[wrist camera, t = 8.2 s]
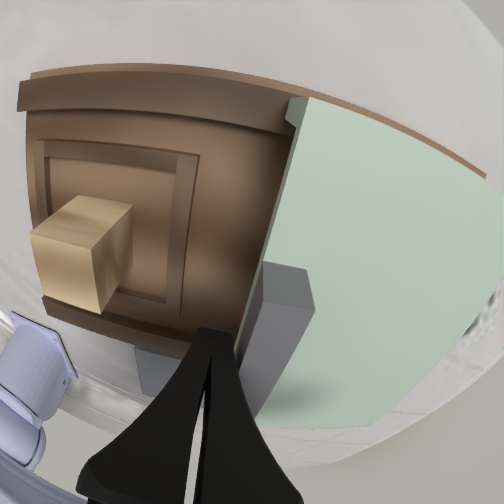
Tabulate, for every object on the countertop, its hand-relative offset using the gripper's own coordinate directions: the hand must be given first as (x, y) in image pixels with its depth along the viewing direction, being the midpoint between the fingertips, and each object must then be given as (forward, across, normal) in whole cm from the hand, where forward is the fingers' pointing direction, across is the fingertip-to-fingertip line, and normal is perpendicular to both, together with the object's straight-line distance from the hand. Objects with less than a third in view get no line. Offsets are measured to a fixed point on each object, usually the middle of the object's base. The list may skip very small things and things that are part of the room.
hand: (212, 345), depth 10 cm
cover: (+5, -7, 0) cm, 9 cm away
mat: (+7, +2, +16) cm, 18 cm away
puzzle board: (+7, 0, 0) cm, 7 cm away
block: (+7, +8, 0) cm, 10 cm away
